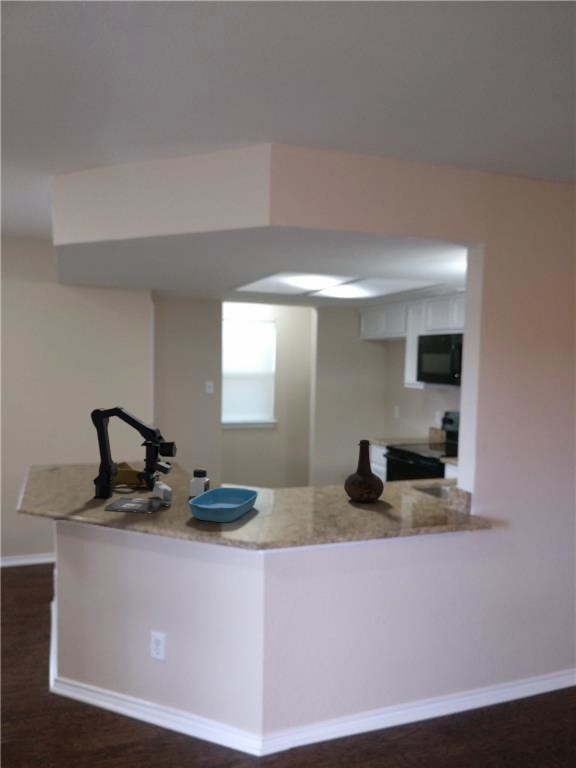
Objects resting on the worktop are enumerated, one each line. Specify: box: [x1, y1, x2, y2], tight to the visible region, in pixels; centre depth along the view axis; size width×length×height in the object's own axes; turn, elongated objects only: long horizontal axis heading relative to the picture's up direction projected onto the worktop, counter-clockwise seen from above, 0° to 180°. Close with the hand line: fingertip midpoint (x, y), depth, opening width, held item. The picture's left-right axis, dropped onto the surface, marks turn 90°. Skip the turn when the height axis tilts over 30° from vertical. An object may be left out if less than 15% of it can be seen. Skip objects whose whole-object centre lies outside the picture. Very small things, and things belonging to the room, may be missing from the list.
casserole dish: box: [188, 486, 259, 523], centre depth 228 cm, size 37×22×7 cm, turn 164°
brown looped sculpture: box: [110, 461, 160, 489], centre depth 266 cm, size 18×13×22 cm
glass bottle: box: [343, 439, 385, 503], centre depth 255 cm, size 18×18×28 cm
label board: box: [104, 497, 172, 513], centre depth 232 cm, size 24×16×2 cm
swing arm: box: [152, 480, 173, 501], centre depth 242 cm, size 20×4×4 cm, turn 30°
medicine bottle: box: [189, 468, 210, 497], centre depth 254 cm, size 7×7×12 cm
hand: (151, 491), depth 243 cm, fingers closed
